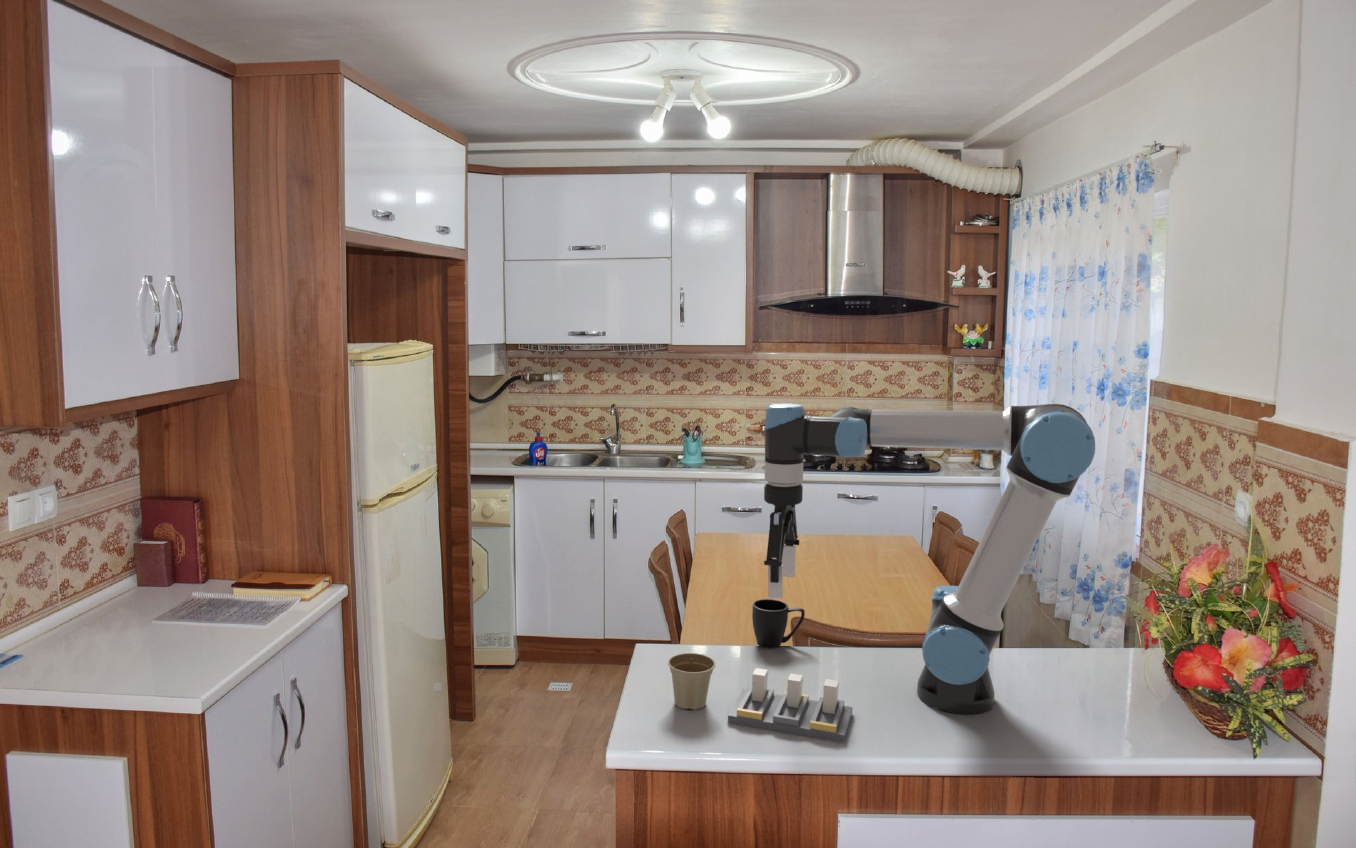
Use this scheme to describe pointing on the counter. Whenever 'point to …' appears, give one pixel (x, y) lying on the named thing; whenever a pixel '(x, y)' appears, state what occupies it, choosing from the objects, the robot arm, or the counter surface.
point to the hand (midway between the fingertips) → (781, 586)
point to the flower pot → (691, 679)
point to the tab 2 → (794, 690)
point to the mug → (772, 622)
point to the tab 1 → (759, 685)
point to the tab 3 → (830, 696)
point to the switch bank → (791, 716)
